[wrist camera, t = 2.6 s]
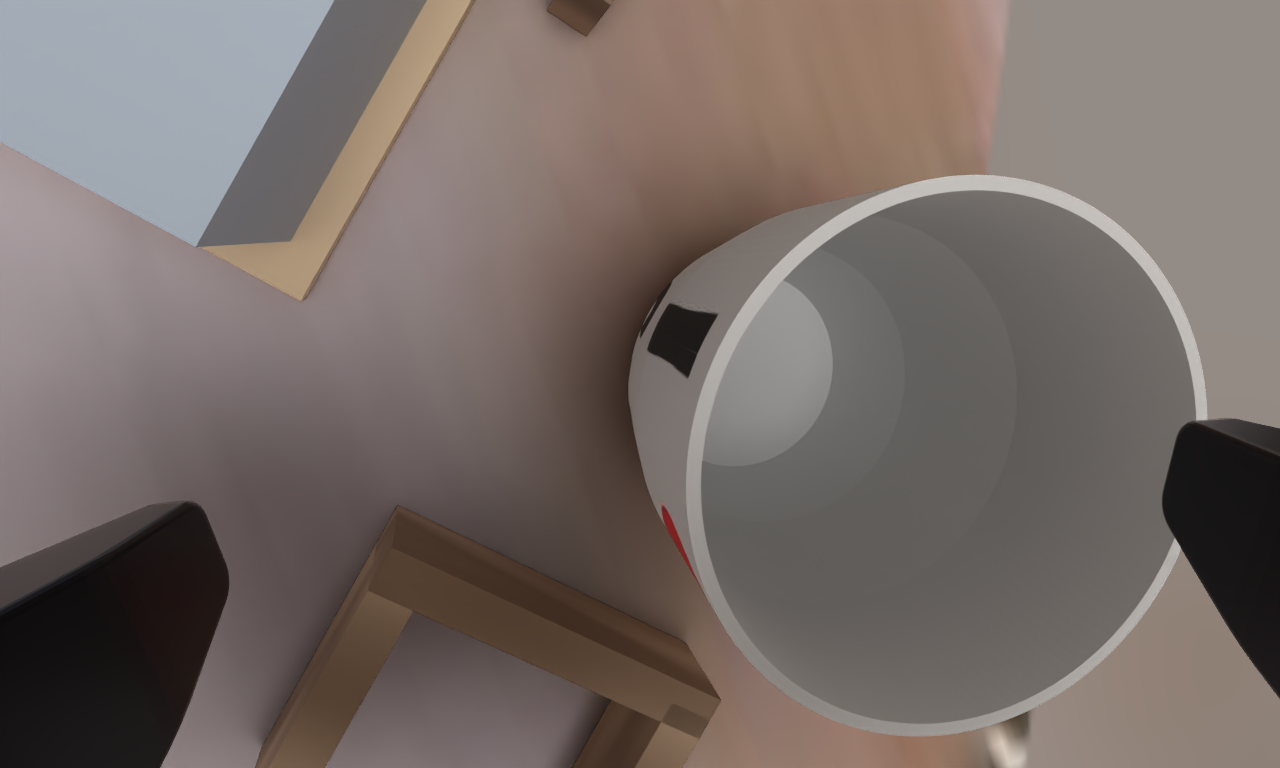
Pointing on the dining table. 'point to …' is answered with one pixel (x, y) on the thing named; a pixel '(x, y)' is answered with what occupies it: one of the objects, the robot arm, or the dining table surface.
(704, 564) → the cup
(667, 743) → the narrow slot
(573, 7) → the bay
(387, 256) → the dining table surface
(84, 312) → the dining table surface
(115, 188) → the tea caddy
